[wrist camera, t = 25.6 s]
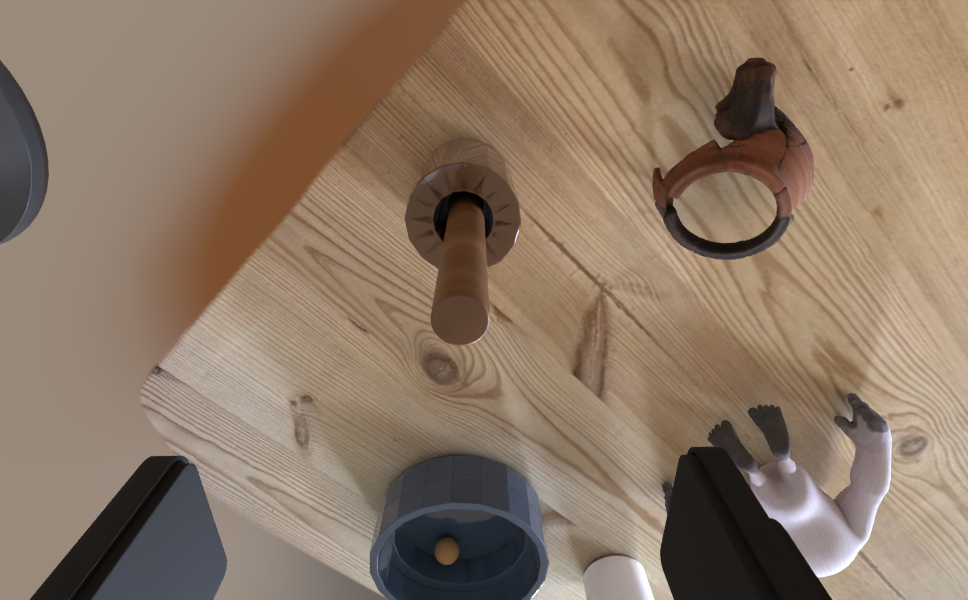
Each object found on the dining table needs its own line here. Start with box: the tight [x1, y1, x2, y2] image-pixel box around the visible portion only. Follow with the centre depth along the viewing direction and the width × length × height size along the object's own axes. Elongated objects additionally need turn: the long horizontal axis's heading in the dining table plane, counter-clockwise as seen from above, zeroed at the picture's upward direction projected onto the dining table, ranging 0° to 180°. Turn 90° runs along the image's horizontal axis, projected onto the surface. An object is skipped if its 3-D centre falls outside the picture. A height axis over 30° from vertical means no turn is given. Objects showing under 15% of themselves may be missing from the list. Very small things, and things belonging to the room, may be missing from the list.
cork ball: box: [435, 537, 459, 565], centre depth 49 cm, size 2×2×2 cm
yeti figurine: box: [662, 394, 891, 577], centre depth 46 cm, size 20×7×20 cm
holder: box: [405, 138, 521, 269], centre depth 31 cm, size 6×6×9 cm
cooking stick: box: [431, 191, 490, 346], centre depth 26 cm, size 2×2×20 cm
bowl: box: [370, 455, 549, 600], centre depth 46 cm, size 15×15×6 cm
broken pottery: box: [653, 58, 814, 260], centre depth 32 cm, size 12×10×8 cm
